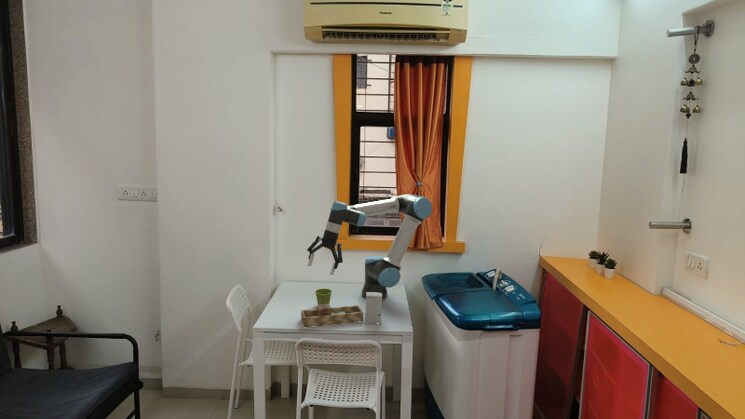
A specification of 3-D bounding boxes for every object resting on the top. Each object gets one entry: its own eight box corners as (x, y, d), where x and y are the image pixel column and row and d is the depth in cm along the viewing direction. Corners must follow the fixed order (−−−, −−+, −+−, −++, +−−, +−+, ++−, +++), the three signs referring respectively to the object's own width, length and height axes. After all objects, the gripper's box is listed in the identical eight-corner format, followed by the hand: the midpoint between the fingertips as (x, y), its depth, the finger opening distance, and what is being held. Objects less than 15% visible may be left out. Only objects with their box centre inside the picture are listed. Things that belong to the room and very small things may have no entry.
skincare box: (364, 324, 227) (365, 295, 224) (365, 319, 233) (365, 291, 230) (381, 324, 227) (382, 296, 224) (381, 319, 233) (382, 291, 230)
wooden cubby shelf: (358, 314, 239) (358, 305, 238) (363, 321, 230) (363, 312, 229) (301, 319, 231) (301, 310, 230) (303, 327, 221) (303, 318, 221)
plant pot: (329, 310, 243) (329, 295, 242) (312, 308, 245) (312, 293, 244) (334, 304, 252) (334, 289, 251) (318, 302, 254) (317, 287, 253)
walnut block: (329, 313, 232) (329, 303, 231) (331, 317, 227) (331, 308, 226) (317, 314, 231) (317, 304, 230) (319, 318, 225) (319, 309, 224)
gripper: (308, 223, 235) (296, 262, 235) (350, 238, 226) (338, 278, 226) (315, 224, 242) (303, 262, 242) (356, 238, 233) (344, 277, 234)
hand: (320, 270), depth 234 cm, fingers open, 13 cm apart
